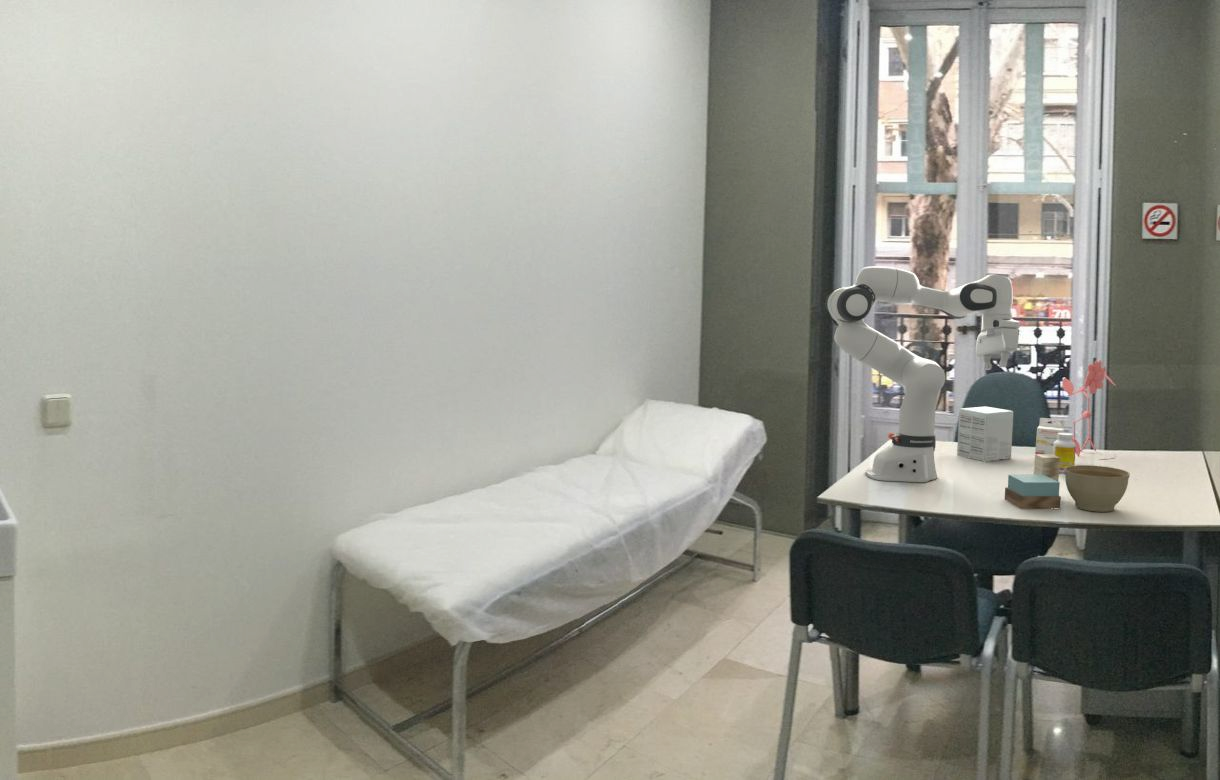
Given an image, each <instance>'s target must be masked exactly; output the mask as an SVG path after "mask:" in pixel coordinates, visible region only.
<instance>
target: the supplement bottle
mask: <svg viewBox="0 0 1220 780" xmlns="http://www.w3.org/2000/svg"><path fill="white" fill-rule="evenodd" d="M1057 438H1058V440H1056V441H1055V442H1054V445H1053V455H1055V456H1057V457H1059V458H1060V465H1059V474H1065V471H1064V469H1065V468H1066V467H1068V466H1075V462H1076V453H1075V448H1076V444H1075V443H1074V442H1073V441H1072V439H1074V433H1070V432H1064V433H1058V434H1057Z"/></svg>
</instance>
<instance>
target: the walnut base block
mask: <svg viewBox="0 0 1220 780" xmlns="http://www.w3.org/2000/svg"><path fill="white" fill-rule="evenodd" d="M1004 500H1005V501H1007V502H1008V503H1010V504H1011V505H1014V506H1015V507H1017V508H1018V509H1020V510H1055V509H1054V508H1060V509H1061V506H1062V505H1061V503H1062V496H1060V495H1059V496H1022V495H1020V494H1018V493H1016V492H1014V491H1013V490H1011V489H1009V488H1008V487H1006V486H1005V489H1004ZM1051 508H1053V509H1051Z"/></svg>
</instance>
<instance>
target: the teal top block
mask: <svg viewBox="0 0 1220 780" xmlns="http://www.w3.org/2000/svg"><path fill="white" fill-rule="evenodd" d="M1007 475H1008V476H1007V477H1008V480H1007V481H1008V482H1007V488H1009V489H1011V490H1013V491H1014V492H1016V493H1018V494H1020V495H1022V496H1060V485H1061V483H1060V481H1056V480H1054V479H1051V478H1049V477H1047V476H1045V475H1043V474H1035V475H1034V474H1007Z"/></svg>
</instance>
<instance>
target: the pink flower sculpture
mask: <svg viewBox="0 0 1220 780" xmlns="http://www.w3.org/2000/svg"><path fill="white" fill-rule="evenodd" d="M1102 364H1103V363H1102V360H1101V359H1100V360H1099V359H1098V360H1095V361H1094V363H1090V364H1088V366H1087V371H1088V373H1087V374H1086V379H1085V381H1084V384H1083V387H1082V388H1081V389H1079V390H1077V391H1075V392H1074V385H1073V382H1072V381H1071V380H1069V379H1068V378H1066V377H1064V378H1063V380H1062V381H1061V382H1062V383H1061V386H1062V389H1063V390H1064V391H1065V392H1066V393H1067V394H1068V395H1069V396H1073V395H1075V394H1078V393H1080V392H1082V393H1083V394H1084V395H1085V397H1086V398H1087V410H1085V411H1083V413H1082V416H1083V417H1081V418H1079V419H1077V420H1075V421H1074V422H1073V439H1072V441H1073V442H1074V443H1075V444H1076V448H1075V456H1077V457H1080V455H1081V452H1082V451H1083V450H1084V449H1085V447H1086V445H1087V444H1088V442H1089V444H1090V445H1091V447H1092V449H1093V451H1094V452H1095V451H1097V450H1096V447H1095V446H1094V444H1093V442H1092V440H1091V417H1092V413H1091V411H1090V397H1089V396H1088V394H1090V395H1091V394H1094V395H1095V394H1097V392H1098V389H1099V390H1101V389H1103V388H1104V383H1103V381H1104V379H1105V378H1106V379H1107V381H1108V382H1110V383H1111V384H1112V385H1113V386H1114V387H1117V385H1116V384H1115V383H1114V382H1113V380H1112V378H1110V377H1109V376H1108V375H1107V374H1106V370H1107V369H1106V366H1103V365H1102ZM1086 388H1088V389H1086ZM1086 392H1089V393H1088V394H1087V393H1086ZM1083 419H1088V436H1086V441H1085V443H1084V444H1083V446H1082V447H1081V445H1080V443H1079V442H1078V440H1077V439H1076V423H1077V422H1079V421H1081V420H1083ZM1095 453H1098V451H1097V452H1095ZM1113 455H1115V456H1116V454H1115V453H1113ZM1101 460H1102V461H1103V460H1107V458H1104V459H1101V458H1099V461H1101ZM1110 460H1114V457H1113V458H1110Z"/></svg>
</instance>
